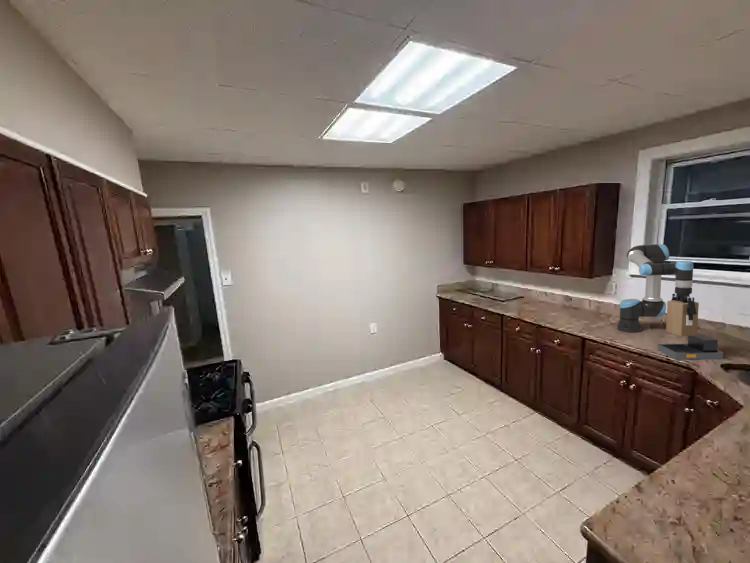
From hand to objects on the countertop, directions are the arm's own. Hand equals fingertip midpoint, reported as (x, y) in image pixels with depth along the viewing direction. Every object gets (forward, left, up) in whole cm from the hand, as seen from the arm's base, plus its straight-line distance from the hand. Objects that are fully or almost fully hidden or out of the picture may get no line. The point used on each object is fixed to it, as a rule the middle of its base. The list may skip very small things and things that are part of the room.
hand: (681, 322), depth 198 cm
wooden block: (0, 0, -7) cm, 7 cm away
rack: (0, +5, -20) cm, 21 cm away
